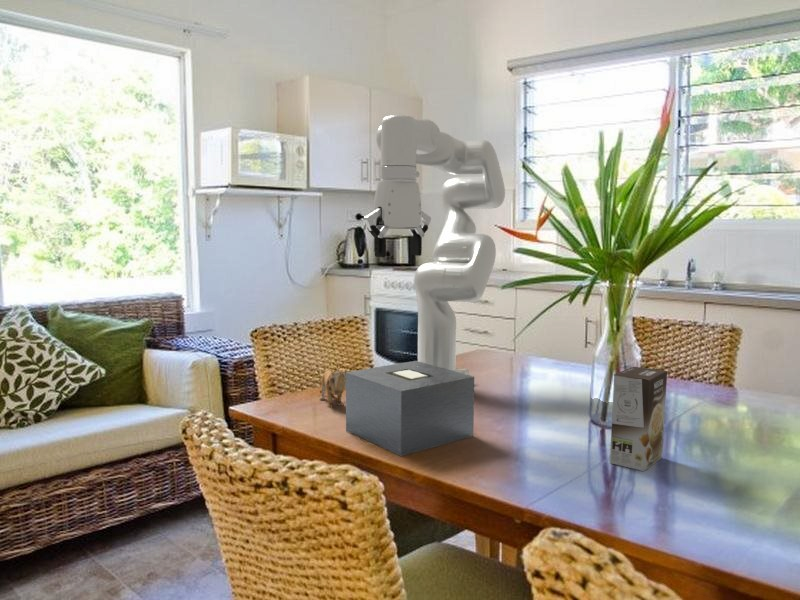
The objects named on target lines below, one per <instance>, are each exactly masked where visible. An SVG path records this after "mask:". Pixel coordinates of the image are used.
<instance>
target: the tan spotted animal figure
mask: <svg viewBox="0 0 800 600" xmlns="http://www.w3.org/2000/svg"><path fill="white" fill-rule="evenodd" d="M346 372H347V369H345V368H337V369H336V370H333V371H331V370H326V371H325V372H323V373H322V376H321V390H320V391H319V394H321V396H320V397H319V400H320V401H324V400H325V399H326V398H325V397H326V396H327V403H328V404H327V408H333V407H334V406H333V405H334V404H333V397H334V396H337V398H336V405H338V406H343V405H344V403H343V402H342V401H341V400H342V397H343V396H342V395H343V394H344V393H343V392H344V391H346ZM325 394H327V395H326V396H325Z"/></svg>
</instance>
